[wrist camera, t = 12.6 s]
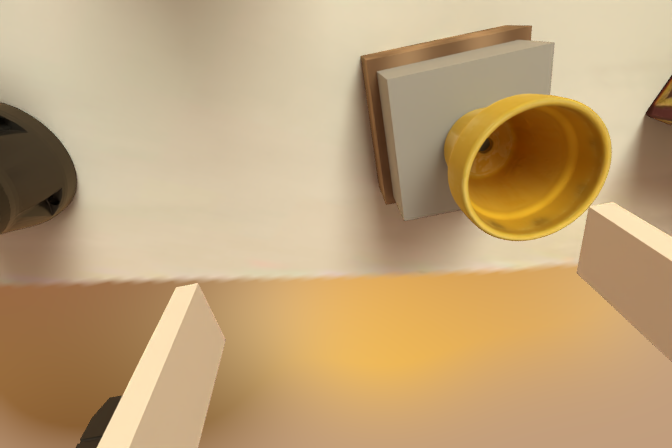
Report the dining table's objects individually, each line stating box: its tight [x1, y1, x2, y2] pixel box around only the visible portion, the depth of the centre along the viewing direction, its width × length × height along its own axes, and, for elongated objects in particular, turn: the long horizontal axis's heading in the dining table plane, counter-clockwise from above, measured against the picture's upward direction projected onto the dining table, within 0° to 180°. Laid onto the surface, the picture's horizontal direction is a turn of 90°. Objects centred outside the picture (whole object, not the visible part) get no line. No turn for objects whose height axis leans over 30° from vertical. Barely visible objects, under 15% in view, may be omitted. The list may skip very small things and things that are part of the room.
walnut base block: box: [361, 25, 532, 205], centre depth 41 cm, size 16×16×6 cm
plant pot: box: [444, 94, 612, 241], centre depth 29 cm, size 10×10×10 cm
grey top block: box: [377, 40, 554, 221], centre depth 36 cm, size 14×14×6 cm
